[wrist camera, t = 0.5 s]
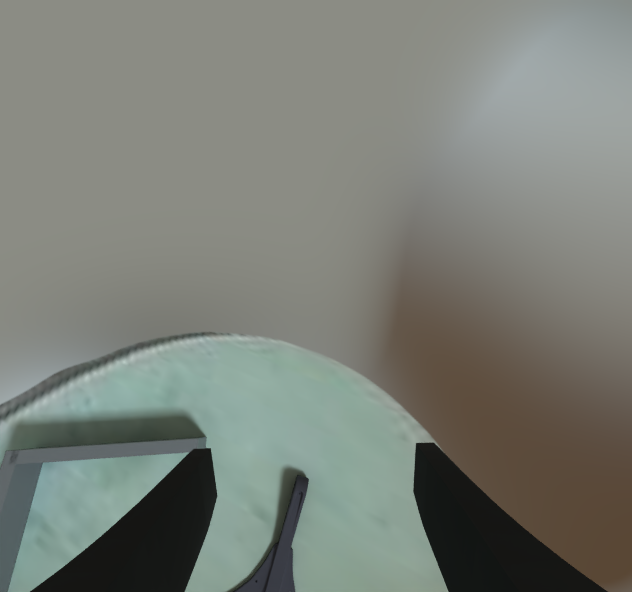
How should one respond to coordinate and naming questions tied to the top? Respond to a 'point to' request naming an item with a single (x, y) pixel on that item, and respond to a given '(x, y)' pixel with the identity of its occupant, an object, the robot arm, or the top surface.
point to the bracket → (280, 550)
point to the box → (23, 472)
